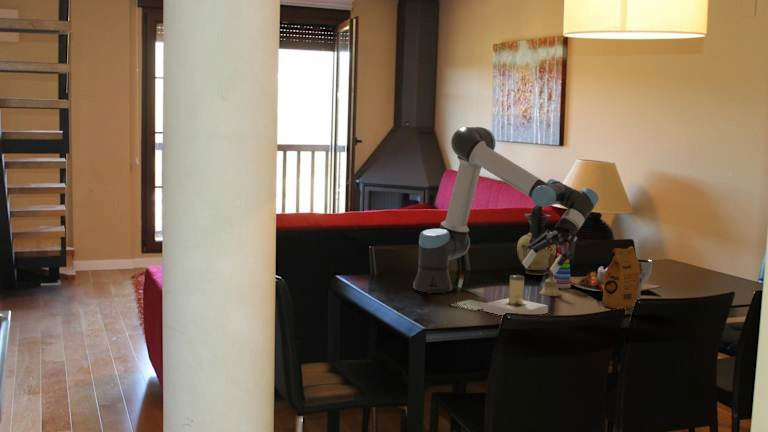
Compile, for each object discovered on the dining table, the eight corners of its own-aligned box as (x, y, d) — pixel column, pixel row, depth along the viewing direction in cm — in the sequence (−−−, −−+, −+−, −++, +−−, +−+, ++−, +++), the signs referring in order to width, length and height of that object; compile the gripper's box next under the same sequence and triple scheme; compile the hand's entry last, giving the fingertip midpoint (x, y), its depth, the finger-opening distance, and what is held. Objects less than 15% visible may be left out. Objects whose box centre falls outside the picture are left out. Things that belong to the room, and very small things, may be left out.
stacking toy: (570, 289, 351) (573, 243, 349) (550, 288, 352) (553, 242, 350) (570, 286, 359) (573, 240, 356) (551, 284, 360) (553, 239, 358)
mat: (448, 305, 315) (448, 304, 315) (469, 301, 324) (470, 299, 323) (474, 311, 307) (475, 310, 307) (495, 307, 315) (496, 305, 315)
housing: (483, 311, 307) (483, 303, 306) (510, 305, 318) (510, 297, 318) (520, 320, 296) (520, 311, 295) (547, 313, 307) (547, 305, 307)
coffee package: (597, 305, 323) (601, 246, 321) (620, 302, 330) (624, 244, 328) (618, 310, 315) (622, 250, 313) (641, 307, 322) (645, 248, 320)
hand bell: (548, 296, 336) (550, 255, 334) (535, 292, 343) (537, 252, 341) (565, 295, 340) (567, 254, 338) (552, 291, 347) (554, 251, 345)
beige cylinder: (505, 312, 307) (506, 276, 305) (513, 310, 310) (515, 274, 309) (516, 315, 303) (518, 278, 302) (525, 313, 307) (527, 276, 305)
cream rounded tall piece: (515, 268, 396) (519, 202, 392) (553, 270, 393) (557, 204, 390) (516, 275, 378) (519, 206, 375) (555, 277, 376) (559, 208, 372)
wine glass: (646, 302, 331) (649, 263, 330) (625, 299, 336) (628, 260, 334) (652, 298, 338) (654, 260, 336) (631, 295, 342) (634, 258, 341)
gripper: (600, 235, 309) (569, 281, 302) (548, 226, 329) (518, 269, 322) (591, 221, 305) (559, 267, 298) (539, 213, 325) (508, 256, 318)
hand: (538, 268), depth 310 cm, fingers open, 13 cm apart
